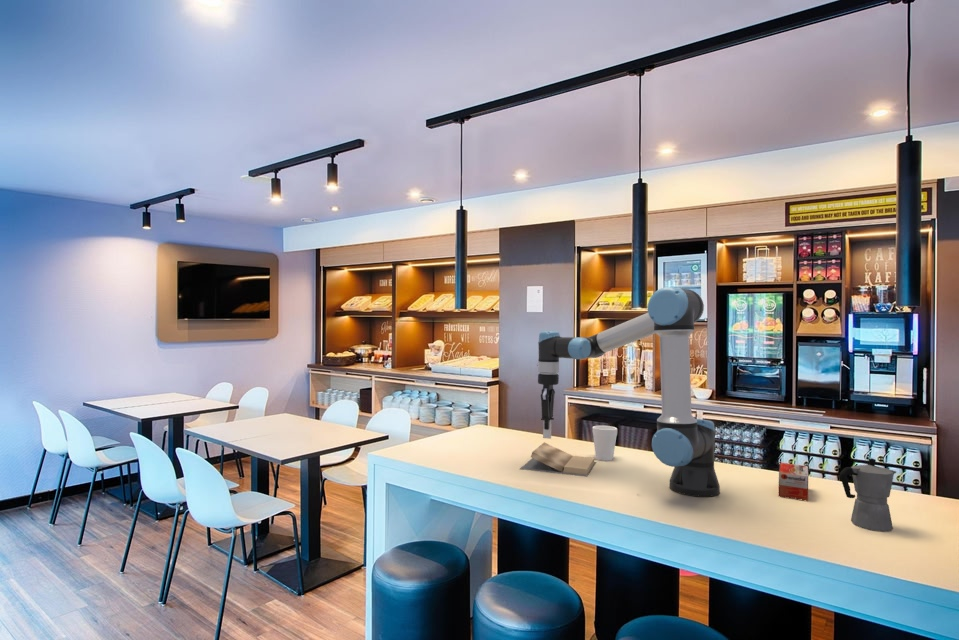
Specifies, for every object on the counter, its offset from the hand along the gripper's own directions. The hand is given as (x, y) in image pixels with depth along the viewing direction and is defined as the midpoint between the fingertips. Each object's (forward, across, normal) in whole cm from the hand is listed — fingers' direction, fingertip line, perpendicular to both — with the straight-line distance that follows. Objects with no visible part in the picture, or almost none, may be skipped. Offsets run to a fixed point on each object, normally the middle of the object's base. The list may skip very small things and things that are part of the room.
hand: (547, 437), depth 200 cm
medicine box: (+12, -4, +80) cm, 81 cm away
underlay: (+11, -3, +4) cm, 12 cm away
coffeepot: (+11, +22, +93) cm, 96 cm away
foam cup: (+12, -21, +18) cm, 30 cm away
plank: (+8, -3, +1) cm, 9 cm away
